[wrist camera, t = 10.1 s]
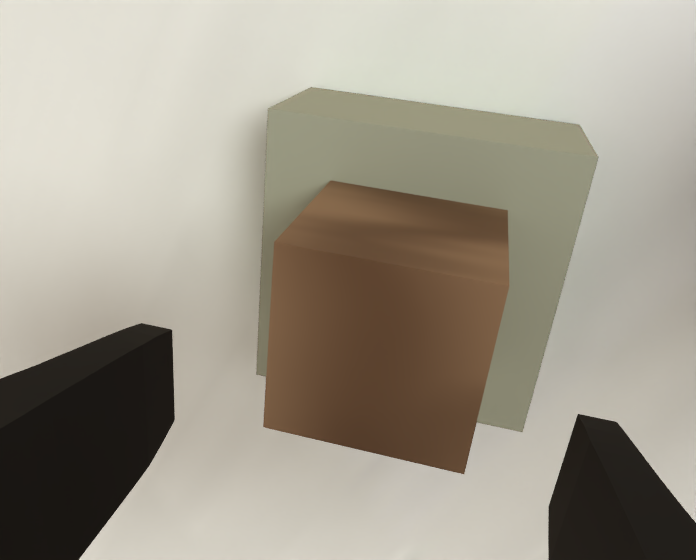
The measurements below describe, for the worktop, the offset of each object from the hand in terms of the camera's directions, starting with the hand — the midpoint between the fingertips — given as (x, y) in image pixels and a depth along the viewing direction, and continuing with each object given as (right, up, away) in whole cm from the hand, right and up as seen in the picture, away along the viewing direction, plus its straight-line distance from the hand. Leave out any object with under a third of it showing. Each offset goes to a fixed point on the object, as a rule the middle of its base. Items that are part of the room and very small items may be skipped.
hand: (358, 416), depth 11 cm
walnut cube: (+1, +3, +6) cm, 6 cm away
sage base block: (+2, +4, +9) cm, 10 cm away
